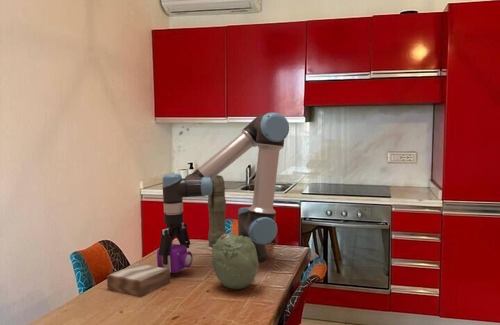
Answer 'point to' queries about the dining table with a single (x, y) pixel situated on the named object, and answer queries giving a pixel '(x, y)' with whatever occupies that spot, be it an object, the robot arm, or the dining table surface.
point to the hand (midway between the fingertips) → (175, 267)
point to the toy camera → (177, 258)
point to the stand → (138, 279)
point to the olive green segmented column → (216, 210)
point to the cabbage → (234, 260)
